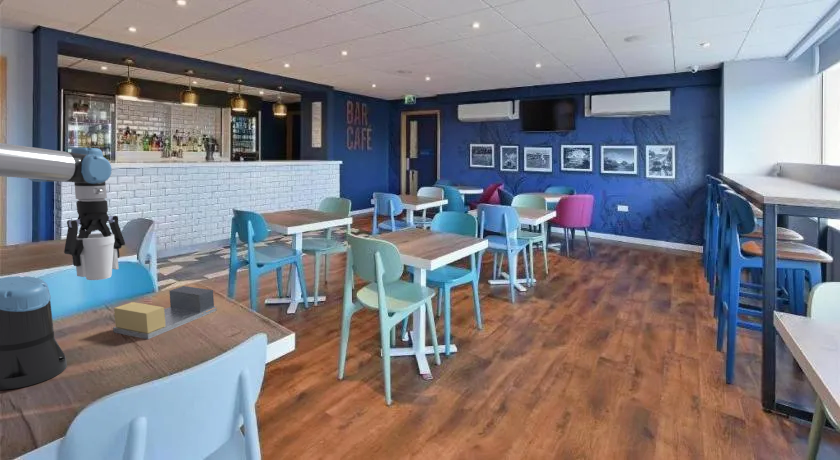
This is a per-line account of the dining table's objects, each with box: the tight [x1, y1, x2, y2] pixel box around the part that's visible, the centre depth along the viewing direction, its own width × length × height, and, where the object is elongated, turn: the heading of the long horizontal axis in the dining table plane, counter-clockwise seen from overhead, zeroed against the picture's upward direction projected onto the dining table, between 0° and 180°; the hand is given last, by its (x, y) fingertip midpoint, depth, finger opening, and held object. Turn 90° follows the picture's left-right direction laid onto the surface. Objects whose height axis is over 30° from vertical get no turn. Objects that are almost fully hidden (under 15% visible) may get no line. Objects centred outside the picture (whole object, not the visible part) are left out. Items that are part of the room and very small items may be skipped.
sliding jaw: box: [113, 301, 166, 333], centre depth 134 cm, size 6×13×6 cm, turn 71°
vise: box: [112, 285, 217, 340], centre depth 143 cm, size 26×14×8 cm, turn 161°
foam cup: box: [76, 233, 115, 281], centre depth 136 cm, size 10×9×13 cm
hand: (98, 272), depth 136 cm, fingers closed on foam cup, 9 cm apart
